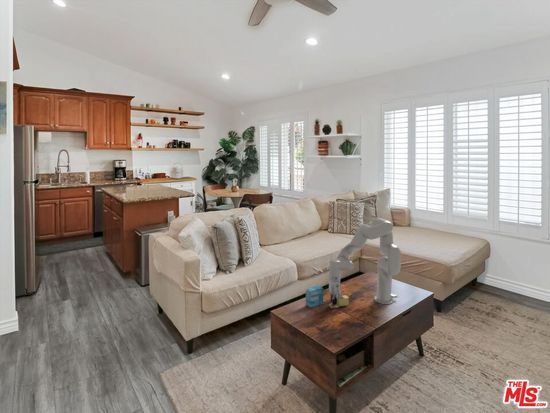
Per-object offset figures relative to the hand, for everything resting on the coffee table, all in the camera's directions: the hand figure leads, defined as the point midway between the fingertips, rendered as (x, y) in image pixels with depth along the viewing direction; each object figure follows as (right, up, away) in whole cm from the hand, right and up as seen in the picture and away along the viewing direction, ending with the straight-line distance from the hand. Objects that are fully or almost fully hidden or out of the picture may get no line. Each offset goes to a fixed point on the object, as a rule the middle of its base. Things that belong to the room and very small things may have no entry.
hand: (333, 303), depth 228 cm
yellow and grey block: (+7, -2, +4) cm, 8 cm away
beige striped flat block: (0, -2, 0) cm, 2 cm away
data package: (-13, -2, +3) cm, 13 cm away
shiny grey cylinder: (0, -1, 0) cm, 1 cm away
